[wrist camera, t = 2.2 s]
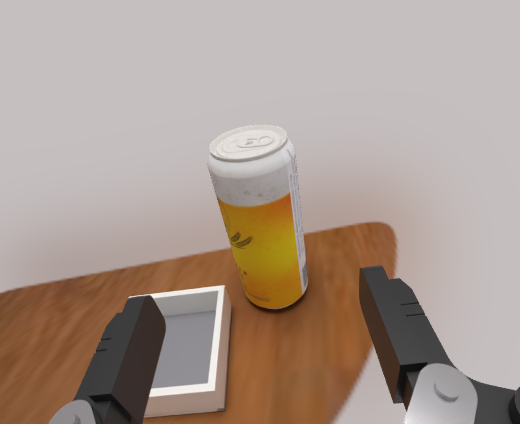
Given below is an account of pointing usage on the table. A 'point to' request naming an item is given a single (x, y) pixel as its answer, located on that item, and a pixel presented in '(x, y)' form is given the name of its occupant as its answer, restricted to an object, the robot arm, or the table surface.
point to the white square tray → (192, 352)
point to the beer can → (261, 211)
